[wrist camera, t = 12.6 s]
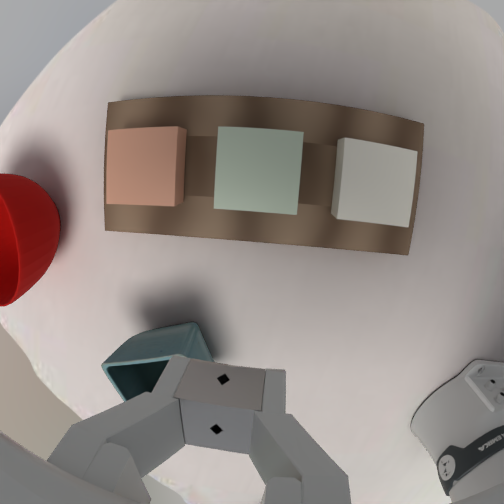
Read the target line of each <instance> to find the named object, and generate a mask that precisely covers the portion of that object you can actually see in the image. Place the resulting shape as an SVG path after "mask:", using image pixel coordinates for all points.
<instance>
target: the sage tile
mask: <svg viewBox="0 0 504 504" xmlns="http://www.w3.org/2000/svg"><path fill="white" fill-rule="evenodd" d="M303 134H304V132H299V131H288V130H277V129H264V128H247V127H221V126H218V139H217V154H216V171H215V190H214V209H227V210H241V211H254V212H267V213H279V214H291V215H297V207H298V196H299V185H300V173H301V161H302V148H303Z"/></svg>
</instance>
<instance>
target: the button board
mask: <svg viewBox="0 0 504 504" xmlns="http://www.w3.org/2000/svg"><path fill="white" fill-rule="evenodd" d="M170 126H178V127H181V128H184V129H187V135H186V152H185V171H184V199H183V203H181V204H178V205H176V206H153V205H126V204H106V167H107V141H108V130H116V129H129V128H145V127H170ZM218 126H221V127H247V128H264V129H277V130H288V131H299V132H304V134H303V148H302V161H301V173H300V185H299V196H298V207H297V215H291V214H279V213H267V212H254V211H241V210H227V209H214V190H215V171H216V154H217V139H218ZM423 135H424V124H423V123H420V122H416V121H412V120H408V119H404V118H400V117H396V116H392V115H387V114H383V113H378V112H373V111H368V110H363V109H358V108H352V107H346V106H340V105H334V104H327V103H320V102H312V101H304V100H294V99H283V98H271V97H254V96H221V95H206V96H173V97H157V98H144V99H134V100H125V101H117V102H109V103H108V110H107V121H106V135H105V155H104V216H105V231H119V232H133V233H148V234H161V235H175V236H188V237H201V238H214V239H227V240H239V241H252V242H264V243H276V244H288V245H300V246H311V247H323V248H334V249H345V250H356V251H367V252H378V253H389V254H400V255H408V254H409V249H410V244H411V238H412V233H413V227H414V221H415V215H416V208H417V201H418V193H419V185H420V175H421V165H422V152H423ZM342 138H352V139H358V140H364V141H369V142H375V143H380V144H385V145H390V146H395V147H400V148H404V149H409V150H413V151H417V165H416V175H415V184H414V193H413V201H412V208H411V215H410V221H409V227H401V226H393V225H385V224H377V223H369V222H360V221H351V220H342V219H336V218H335V217H334V216H333V215H332V214H331V208H332V199H333V189H334V179H335V168H336V156H337V143H338V140H339V139H342Z"/></svg>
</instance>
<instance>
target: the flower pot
mask: <svg viewBox="0 0 504 504" xmlns="http://www.w3.org/2000/svg"><path fill="white" fill-rule="evenodd" d="M174 355H177V356H182V357H187V358H191V359H192V358H193V359H199V360H204V361H210V362H214V361H213V359H212V356H211V354H210V352H209V350H208V347H207V345H206V343H205V341H204V338H203V336H202V334H201V331H200V329H199V326H198V325H197V324H196V323H194V322H189V323H185V324H180V325H175V326H169V327H163V328H158V329H153V330H149V331H145V332H142V333H139V334H137V335H135V336H133V337H131V338H130V339H128V340H127V341H126V342H124V343H123V344H122V345H121V346H120V347H119V348H118V349H117V350H116V351H115V352H114V353H113V354H112V355H111V356H110V357H109V358H108V359H107V360H106V361H105V362H103V363H102V365H101V367H102V368H103V370H104V372H105V374H106V375H107V377H108V379H109V380H110V382H111V383H112V385H113V386H114V388H115V389H116V390H117V392H118V393H119V395H120V396H121V398H122V399H123V401H124V402H125V401H128V400H130V399H132V398H134V397H136V396H138V395H140V394H142V393H144V392H150V393H152V391H153V389H154V387H155V385H156V384H157V382H158V380H159V378H160V376H161V375H162V373H163V371H164V369H165V367H166V366H167V364H168V362H169V360H170V358H171V357H173V356H174Z"/></svg>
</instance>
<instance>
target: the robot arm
mask: <svg viewBox="0 0 504 504" xmlns="http://www.w3.org/2000/svg"><path fill="white" fill-rule="evenodd" d="M285 409H286V371H285V370H282V369H267V368H266V371H265V369H262V368H252V367H243V366H235V365H228V364H222V363H216V362H210V361H204V360H199V359H193V358H192V359H191V358H187V357H182V356H177V355H174V356H173V357H171V358H170V360H169V362H168V364H167V366H166V367H165V369H164V371H163V373H162V375H161V376H160V378H159V380H158V382H157V384H156V385H155V387H154V389H153V391H152V393H150V392H144V393H142V394H140V395H138V396H136V397H134V398H132V399H130V400H128V401H125V402H123V403H121V404H119V405H117V406H115V407H112V408H110V409H108V410H106V411H103V412H101V413H99V414H97V415H94V416H92V417H90V418H87V419H85V420H83V421H80V422H78V423H76V424H73V425H72V426H71V427H70V428H69V430H68V431H67V433H66V434H65V435H64V437H63V438H62V440H61V441H60V443H59V444H58V445H57V447H56V448H55V450H54V451H53V452H52V454H51V455H50V457H49V458H48V460H47V461H46V460H44V459H43V458H41V457H39V456H37V455H36V454H34V453H33V452H31V451H29V450H28V449H26V448H24V447H23V446H22V445H20V444H18V443H17V442H16V441H14V440H12V439H11V438H10V437H8V436H7V435H6V434H4V433H3V432H1V431H0V504H150V501H151V498H150V496H149V493H148V491H147V489H146V487H145V485H144V483H143V481H142V479H141V478H142V477H144V476H145V475H147V474H148V473H149V472H151V471H152V470H154V469H155V468H156V467H158V466H159V465H160V464H162V463H163V462H164V461H166V460H167V459H168V458H170V457H171V456H172V455H173V454H175V453H176V452H177V451H179V450H180V449H181V448H182V447H184V446H185V444H188V445H194V446H200V447H206V448H212V449H219V450H224V451H230V452H237V453H243V454H249V456H250V458H251V460H252V462H253V464H254V465H255V467H256V469H257V471H258V473H259V474H260V476H261V478H262V480H263V481H264V483H265V485H266V487H265V491H264V494H263V498H262V501H261V504H351V497H350V489H349V481H348V475H347V474H346V473H345V472H344V471H343V470H342V469H341V468H340V467H339V466H338V465H337V464H336V463H335V462H334V461H333V460H332V459H331V458H330V457H329V456H328V454H327V453H326V452H325V451H324V450H323V449H322V448H321V447H320V446H319V445H318V444H317V443H316V441H315V440H314V439H313V438H312V437H311V436H310V435H309V434H308V433H307V431H306V430H305V429H304V428H303V427H302V426H301V425H300V423H299V422H298V421H297V420H296V419H295V418H294V417H293V415H292V414H285ZM411 431H412V433H413V434H414V435H415V436H416V437H417V438H418V439H419V441H420V442H421V443H422V444H423V446H424V447H425V448H426V450H427V451H428V453H429V454H430V456H431V458H432V459H433V461H434V462H435V464H436V466H437V470H438V475H439V479H440V482H441V484H442V487H443V489H444V491H445V494H446V495H447V496H450V498H451V501H452V503H450V504H504V362H494V361H485V360H475V361H473V362H472V363H470V364H469V365H468V366H467V367H466V368H465V369H464V370H463V371H462V372H461V373H460V374H459V375H458V376H457V377H456V378H454V379H453V380H451V381H449V382H448V383H446V384H445V385H443V386H442V387H441V388H439V389H438V390H437V391H436V392H434V393H433V394H432V395H431V396H430V397H429V398H428V399H427V400H426V401H425V402H424V403H423V404H422V406H421V407H420V408H419V409H418V411H417V412H416V414H415V416H414V418H413V420H412V423H411Z"/></svg>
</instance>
